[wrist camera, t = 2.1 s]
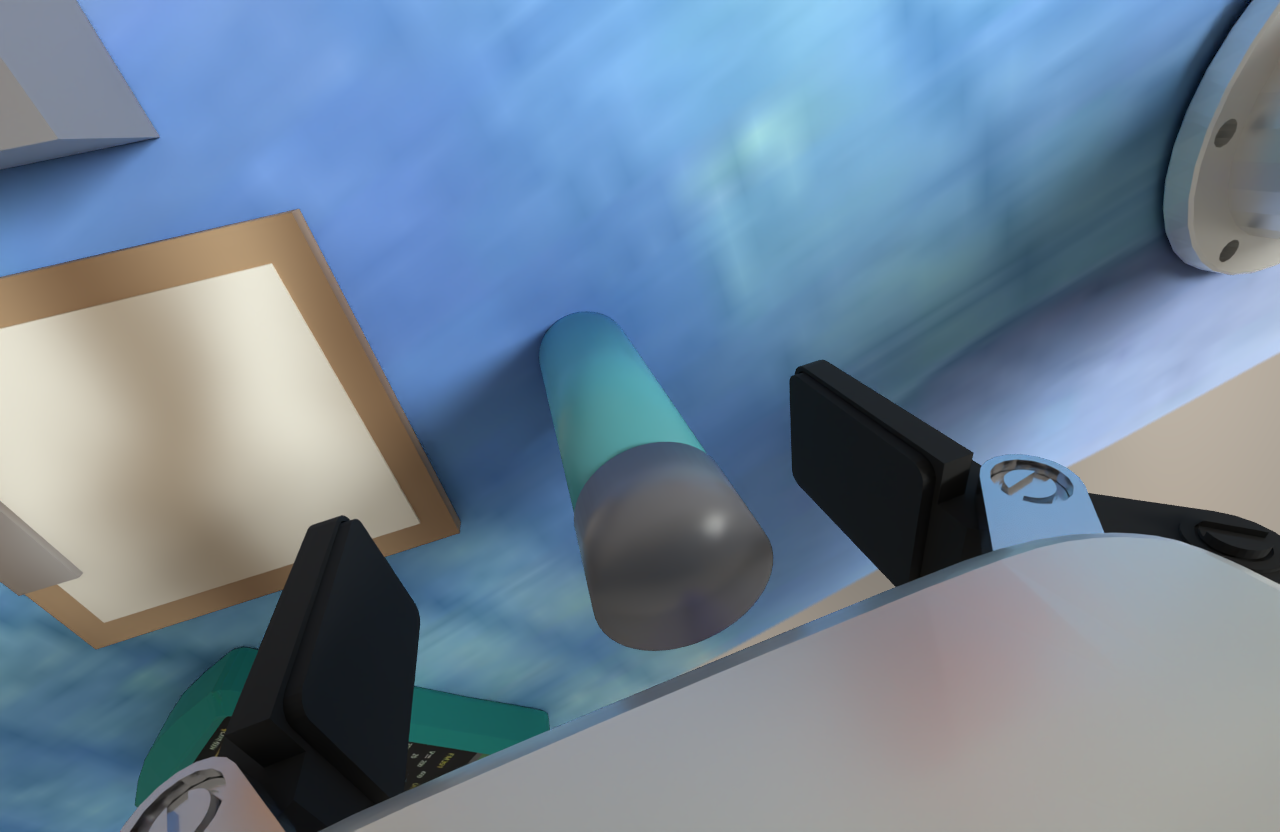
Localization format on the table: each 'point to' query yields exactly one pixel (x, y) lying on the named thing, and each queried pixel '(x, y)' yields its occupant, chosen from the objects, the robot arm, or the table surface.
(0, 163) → the button housing
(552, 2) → the table surface
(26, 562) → the clipboard
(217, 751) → the digital multimeter
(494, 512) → the table surface
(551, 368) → the marker
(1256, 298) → the table surface
